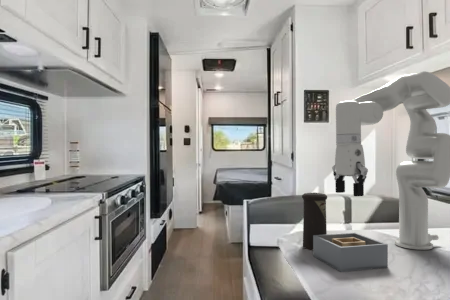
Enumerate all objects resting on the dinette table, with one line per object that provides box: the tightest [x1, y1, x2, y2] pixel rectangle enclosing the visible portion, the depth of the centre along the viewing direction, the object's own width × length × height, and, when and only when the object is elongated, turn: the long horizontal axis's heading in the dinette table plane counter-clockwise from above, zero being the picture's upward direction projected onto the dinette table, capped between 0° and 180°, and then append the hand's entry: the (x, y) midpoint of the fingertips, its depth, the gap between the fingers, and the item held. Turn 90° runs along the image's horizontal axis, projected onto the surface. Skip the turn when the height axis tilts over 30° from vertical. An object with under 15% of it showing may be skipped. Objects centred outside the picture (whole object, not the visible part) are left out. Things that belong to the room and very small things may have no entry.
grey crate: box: [312, 232, 389, 273], centre depth 111 cm, size 16×16×7 cm
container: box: [301, 192, 328, 251], centre depth 128 cm, size 9×9×20 cm
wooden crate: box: [332, 237, 365, 247], centre depth 111 cm, size 8×6×6 cm
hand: (349, 194), depth 112 cm, fingers open, 9 cm apart
